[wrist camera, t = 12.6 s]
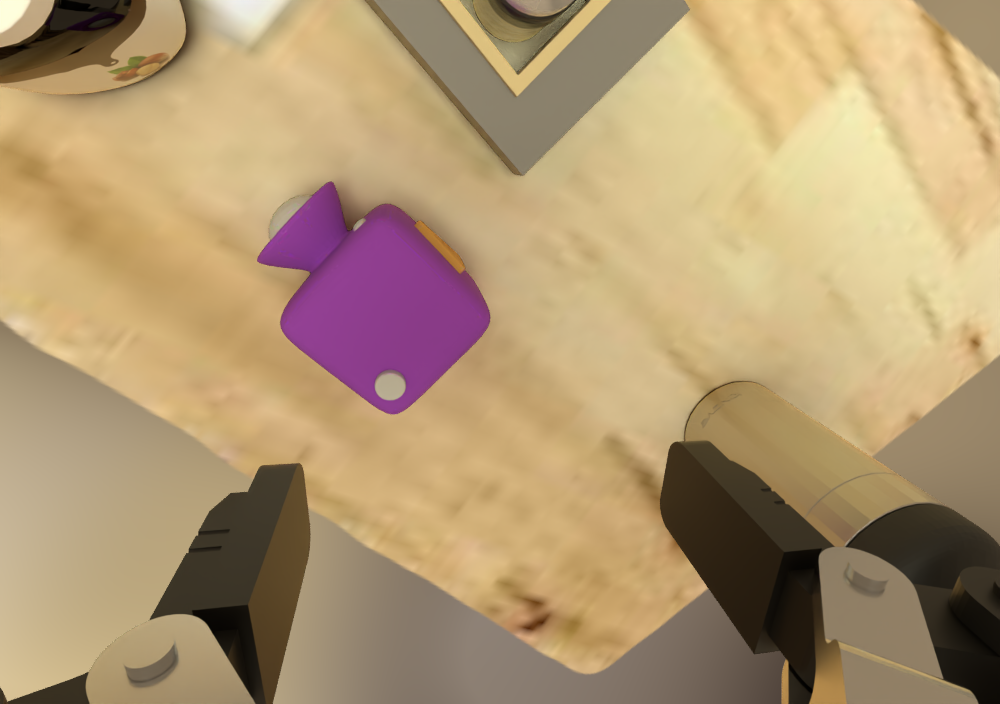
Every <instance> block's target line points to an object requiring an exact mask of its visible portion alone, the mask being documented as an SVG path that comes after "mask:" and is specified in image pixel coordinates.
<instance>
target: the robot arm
mask: <svg viewBox="0 0 1000 704" xmlns="http://www.w3.org/2000/svg"><path fill="white" fill-rule="evenodd" d="M660 509H661V515H662V518H663V521H664V524H665V526H666V528H667V529H668V531H669V532H670V533H671V535H672V536H673V538H674V539H675V541H676V542H677V544H678V545H679V546H680V548H681V549H682V551H683V552H684V554H685V555H686V557H687V558H688V559H689V561H690V562H691V564H692V565H693V567H694V568H695V570H696V571H697V572H698V574H699V575H700V577H701V578H702V580H703V581H704V583H705V584H706V585H707V587H708V588H709V590H710V591H711V593H712V594H713V595H714V597H715V598H716V600H717V601H718V603H719V604H720V606H721V607H722V608H723V609H724V611H725V613H726V614H727V616H728V617H729V618H730V620H731V621H732V623H733V624H734V626H735V627H736V629H737V630H738V632H739V633H740V634H741V636H742V637H743V639H744V640H745V642H746V643H747V644H748V646H749V647H750V649H751V650H752V651H753V653H754V654H760V653H768V652H775V651H781V653H782V654H783V655H784V657H785V658H786V661H785V664H784V667H783V670H782V704H1000V546H999V544H998V543H997V542H996V541H995V540H994V539H993V538H992V537H991V536H990V535H989V534H988V533H987V532H985V531H984V530H982V529H981V528H980V527H978V526H977V525H975V524H974V523H972V522H971V521H969V520H968V519H966V518H965V517H963V516H962V515H960V514H959V513H957V512H956V511H954V510H952V509H951V508H949V507H948V506H946V505H945V504H943V503H942V502H940V501H938V500H937V499H935V498H934V497H932V496H931V495H929V494H928V493H926V492H925V491H923V490H922V489H920V488H918V487H917V486H916V485H914V484H913V483H911V482H910V481H908V480H906V479H905V478H903V477H901V476H900V475H898V474H897V473H895V472H894V471H892V470H891V469H889V468H888V467H886V466H884V465H883V464H882V463H880V462H878V461H877V460H875V459H874V458H872V457H871V456H869V455H868V454H866V453H865V452H863V451H862V450H860V449H859V448H857V447H855V446H854V445H852V444H851V443H849V442H848V441H846V440H845V439H843V438H842V437H840V436H839V435H837V434H836V433H834V432H832V431H831V430H829V429H828V428H826V427H825V426H823V425H822V424H820V423H819V422H817V421H816V420H814V419H813V418H811V417H810V416H808V415H806V414H805V413H803V412H802V411H800V410H799V409H797V408H796V407H794V406H793V405H791V404H790V403H788V402H787V401H785V400H784V399H782V398H781V397H779V396H778V395H776V394H775V393H773V392H771V391H770V390H768V389H767V388H765V387H764V386H762V385H759V384H757V383H753V382H746V381H744V382H734V383H731V384H727V385H724V386H722V387H720V388H718V389H716V390H714V391H713V392H712V393H710V394H709V395H708V396H706V397H705V398H704V399H703V400H702V401H701V402H700V403H699V404H698V405H697V407H696V408H695V410H694V411H693V413H692V414H691V416H690V419H689V421H688V423H687V427H686V431H685V441H683V442H674V443H673V444H672V445H671V446H670V449H669V452H668V458H667V464H666V469H665V475H664V481H663V487H662V492H661V498H660ZM308 514H309V513H308V505H307V496H306V487H305V479H304V471H303V467H302V465H301V464H300V463H296V464H279V465H263V466H260V468H259V469H258V471H257V473H256V475H255V478H254V480H253V482H252V484H251V486H250V488H249V491H248V492H240V493H230V494H229V495H228V496H227V497H226V498H225V499H223V500H222V501H221V502H220V503H219V504H218V505H216V506H215V507H214V508H213V509H212V510H211V511H209V513H208V515H207V517H206V519H205V520H204V522H203V524H202V526H201V528H200V530H199V532H198V536H196V537H195V539H194V540H193V542H192V544H191V546H190V548H189V553H186V555H185V557H184V558H183V560H182V562H181V564H180V566H179V568H178V569H177V571H176V573H175V575H174V577H173V578H172V580H171V582H170V584H169V586H168V587H167V589H166V591H165V593H164V595H163V596H162V598H161V600H160V602H159V604H158V605H157V607H156V609H155V611H154V613H153V614H152V616H151V618H150V620H149V621H147V622H145V623H142V624H140V625H138V626H136V627H134V628H132V629H131V630H129V631H127V632H126V633H124V634H123V635H122V636H120V637H118V638H117V639H116V640H115V641H114V642H112V643H111V644H110V645H109V646H108V647H107V648H106V649H105V650H104V651H103V652H102V653H101V654H100V655H99V657H98V658H97V659H96V661H95V662H94V664H93V666H92V667H91V669H90V671H89V672H87V673H85V674H83V675H81V676H78V677H76V678H73V679H70V680H68V681H65V682H62V683H59V684H57V685H54V686H51V687H48V688H45V689H42V690H39V691H36V692H34V693H31V694H28V695H25V696H22V697H20V698H17V699H14V700H11V701H8V702H7V700H6V698H5V695H4V693H3V691H2V690H1V688H0V704H273V700H274V696H275V692H276V688H277V684H278V679H279V675H280V671H281V667H282V663H283V659H284V655H285V651H286V646H287V643H288V639H289V635H290V630H291V626H292V622H293V618H294V614H295V610H296V606H297V602H298V598H299V594H300V589H301V585H302V582H303V577H304V573H305V569H306V565H307V561H308V557H309V550H310V523H309V515H308Z"/></svg>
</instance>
